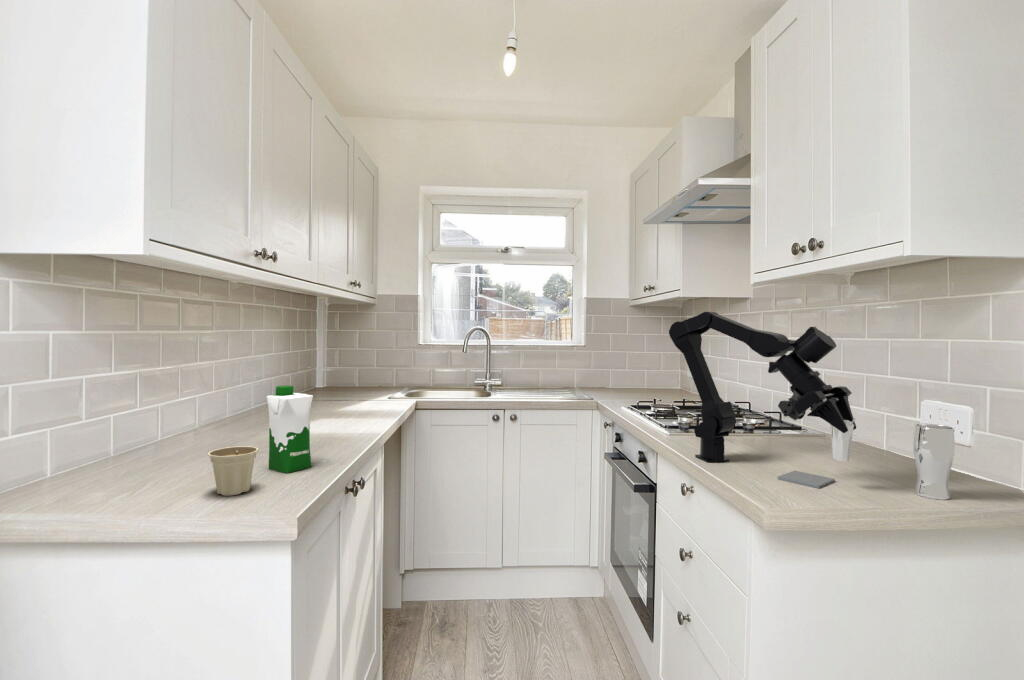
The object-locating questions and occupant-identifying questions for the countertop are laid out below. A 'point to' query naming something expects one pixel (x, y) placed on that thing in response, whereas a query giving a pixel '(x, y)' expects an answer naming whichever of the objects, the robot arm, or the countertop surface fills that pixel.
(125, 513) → the countertop surface
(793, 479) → the coaster
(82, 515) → the countertop surface
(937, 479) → the beer glass
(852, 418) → the robot arm
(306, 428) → the milk carton
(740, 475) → the countertop surface
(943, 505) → the countertop surface
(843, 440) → the milkshake
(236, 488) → the flower pot
